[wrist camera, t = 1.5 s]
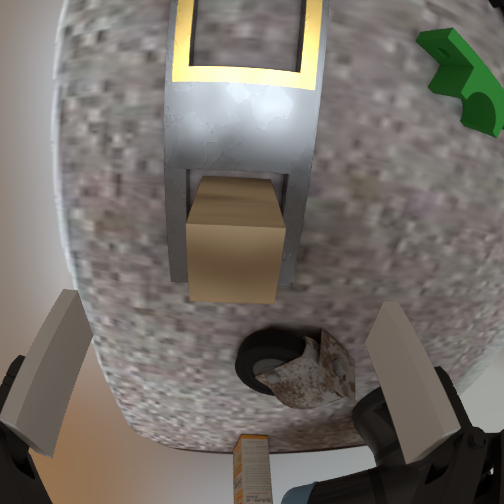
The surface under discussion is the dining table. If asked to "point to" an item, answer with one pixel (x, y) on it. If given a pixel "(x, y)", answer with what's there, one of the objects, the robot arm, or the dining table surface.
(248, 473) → the supplement box
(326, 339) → the caster wheel
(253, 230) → the oak peg
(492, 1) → the rail mount
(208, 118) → the rail plate
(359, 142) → the dining table surface
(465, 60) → the pipe clamp
